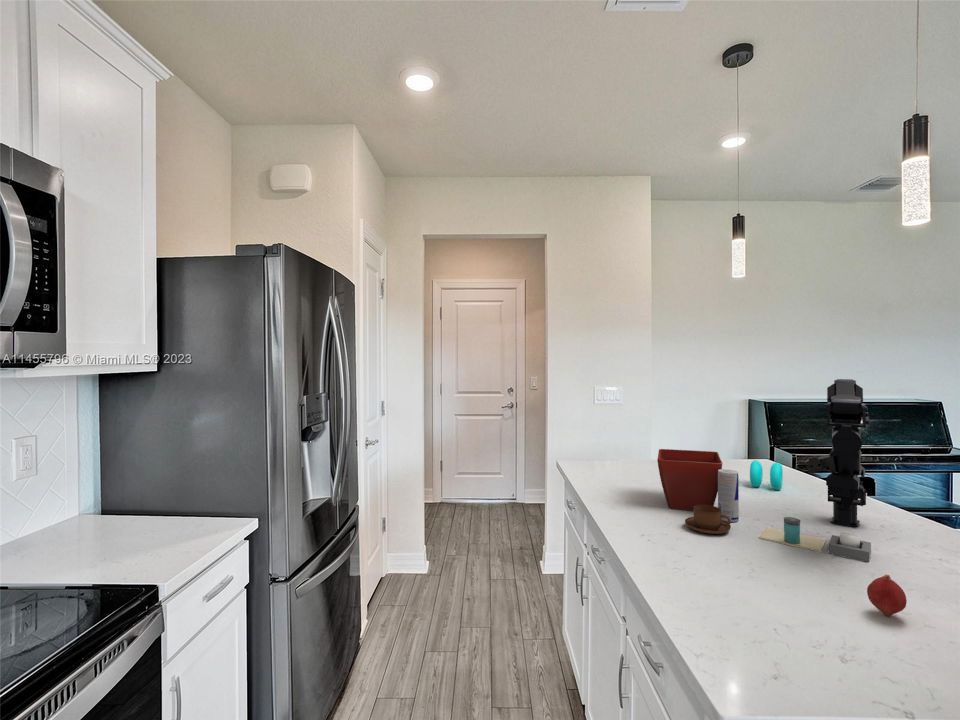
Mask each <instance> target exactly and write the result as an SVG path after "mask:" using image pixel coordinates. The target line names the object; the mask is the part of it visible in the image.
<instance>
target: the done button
mask: <svg viewBox="0 0 960 720" xmlns="http://www.w3.org/2000/svg"><path fill="white" fill-rule="evenodd" d="M839 536H840V545H845V546H850V547H855V548H860V541H861V540H860V538H861V536H859V535H858V534H855V533H851V532H840V533H839Z"/></svg>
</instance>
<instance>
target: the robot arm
mask: <svg viewBox="0 0 960 720" xmlns="http://www.w3.org/2000/svg"><path fill="white" fill-rule="evenodd" d="M826 392H827V393H826V398H827V399H826V400H827V401H826V403H827V409H826V411H827V415H826V416H827V417H826V418H827V420H826V422H827V425H826V426H827V427H828V426H829V427H832V429H831V433H832V434H831V446H832V448H831V451H830V452H829V454H828V455H822V456H817V455H816V456H810V457H809V458H808V459H806V460H805V461H804V462H805V468H806V469H807V470H808V472H809V474H815V473H817V472H822V471H829V474H828V475H827V476H826V477H825V481H826V482H825V484H826V486H827V502H829V503H830V502H831V503H832V504H833V505H832V508H833V509H832V511H833V513H832V515H833V516H832V517H831V519H830V523H831V524H837V525H842V526H847V527H852V528H859V527H860V526H859V525H860V524H861V521H860V520H859V519H858V506H860V507H864V506H867V490H866V489H865V487H864V485H863V481H862V480H861V479H860V477H861V478H865V476H866V469H865V467H863V465H862V464H861V457H862V451H861V449H862V447H863V439H862V438H861V428H862V429H867V425H869V422H870V417H869V407H868V406H867V404H866V403H864V389H863V388H862V387H861V386H860V385H858V384H857V380H855V379H850V378H847V379H845V378H844V379H843V378H838V379H834V381H833V384H831V385H829V386H827V388H826ZM859 476H860V477H859Z"/></svg>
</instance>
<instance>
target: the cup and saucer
mask: <svg viewBox="0 0 960 720" xmlns="http://www.w3.org/2000/svg"><path fill="white" fill-rule="evenodd" d="M722 517H725V518H727V519H728V522H726V521H723V520H722ZM684 523H685V525H686V526H687V527H689V528H690V529H692V530H694V531H696V532H699V533H704V534H709V535H710V534H711V535H717V534H718V535H719V534H720V535H721V534H726V533H727V532H729V531H730V530H731V528H732V526H731V523H732V522H731V520H730V518H729V517H728V516H726V515H722V510H721V509H720V508H718V506H715V505H714V506H710V505H696V506H694V511H693V516H690V517H687V518H686V519H685V520H684Z"/></svg>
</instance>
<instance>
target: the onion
mask: <svg viewBox="0 0 960 720" xmlns="http://www.w3.org/2000/svg"><path fill="white" fill-rule="evenodd" d="M866 588H867V590H866V593H867V597H868V598H867V599H868V600H869V601H870V603H871V604H872V605H873V607H874V608H875V609H877V610H878V611H879V612H881V613H882V614H883V615H884V616H885V617H891V616H893V615H895V614H897V613H901V612H902V611H904V609H906V607H907V596H906V593H905V591H904V589H902V587H901V586H900V585H899V584H898V583H897V582H896V581H894V580H893V579H892V578H891V575H890V574H886V573H885V574H884V575H883V576H880V577H878V578H875V579H874V580H872V581H871V583H869V584H868V586H867V587H866Z"/></svg>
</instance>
